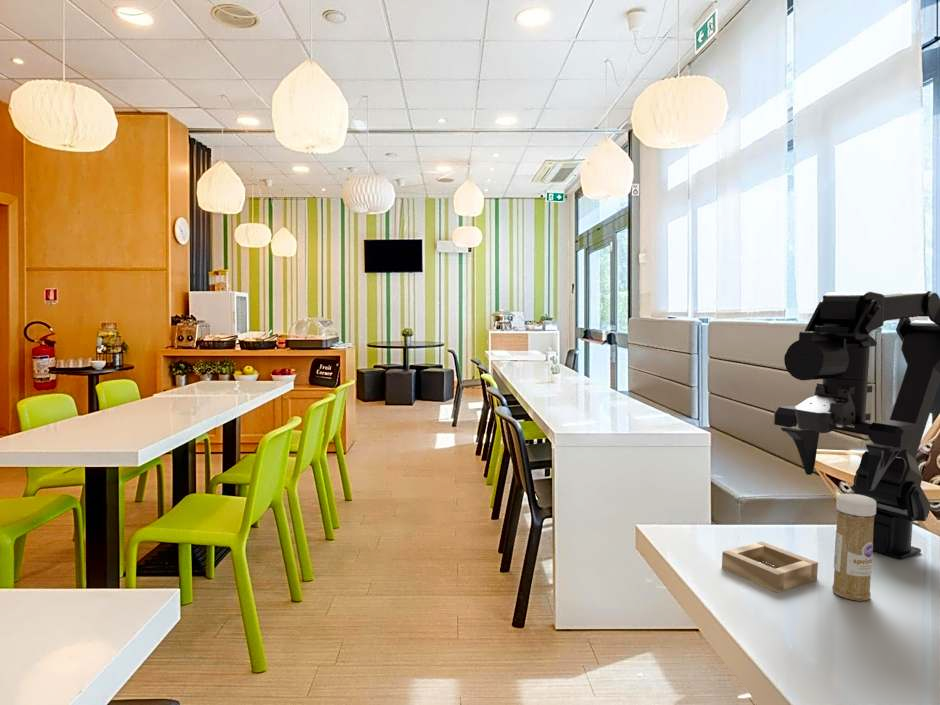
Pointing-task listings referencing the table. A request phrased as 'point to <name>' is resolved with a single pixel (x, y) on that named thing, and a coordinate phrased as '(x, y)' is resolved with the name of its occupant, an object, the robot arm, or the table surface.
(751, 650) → the table surface
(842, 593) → the sprinkles bottle
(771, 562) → the block
